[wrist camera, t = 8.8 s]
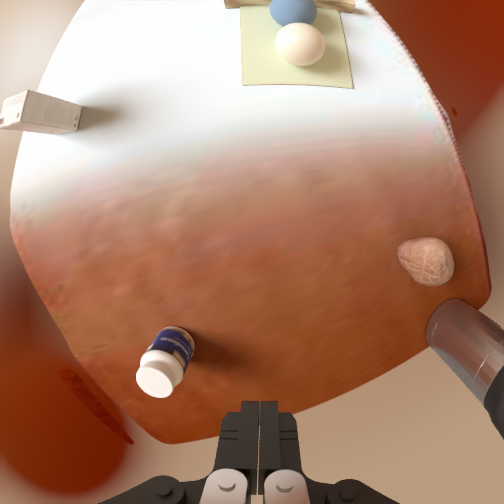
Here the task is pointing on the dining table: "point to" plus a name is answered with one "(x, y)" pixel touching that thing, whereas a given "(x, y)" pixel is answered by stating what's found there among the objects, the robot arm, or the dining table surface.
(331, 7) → the stopper strip
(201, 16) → the dining table surface
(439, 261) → the mushroom
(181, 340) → the pill bottle
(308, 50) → the cue ball
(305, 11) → the blue ball
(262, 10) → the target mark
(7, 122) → the skincare box
